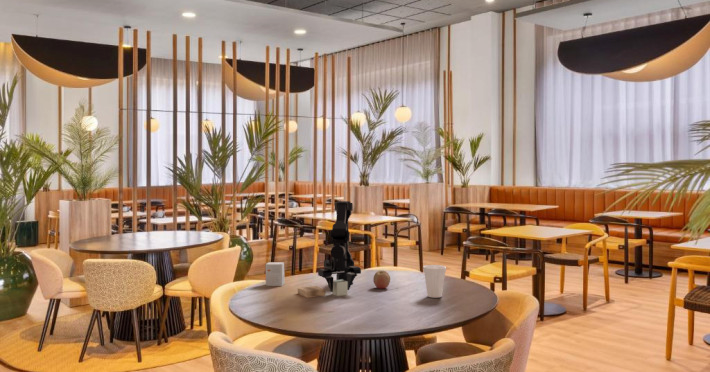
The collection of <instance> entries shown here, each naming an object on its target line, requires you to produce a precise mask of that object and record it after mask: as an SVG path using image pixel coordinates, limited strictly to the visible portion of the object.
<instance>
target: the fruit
mask: <svg viewBox="0 0 710 372" xmlns="http://www.w3.org/2000/svg"><path fill="white" fill-rule="evenodd" d="M372 281H373V283H374V286H375V287H376V288H377V289H379V290H382V289H386V288H388V287H389V285H390V282H391V275H390V274H389V272H387V271H386V270H377V271H376V272H375V273H374V275H373V279H372Z"/></svg>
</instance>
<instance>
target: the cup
mask: <svg viewBox="0 0 710 372" xmlns="http://www.w3.org/2000/svg"><path fill="white" fill-rule="evenodd" d="M422 270H423V273H424V279H425V286H426V294H427V295H426V296H427V297H429V298H433V299H434V298H435V299H437V298H441V297H443V290H444V283H445V276H446V272H447V266H445V265H441V264H426V265H423V266H422Z"/></svg>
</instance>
